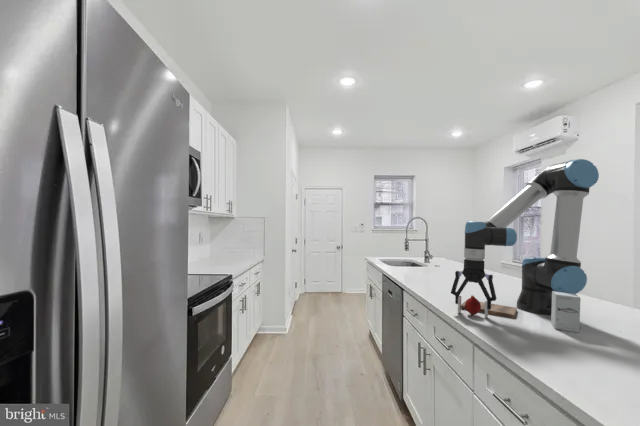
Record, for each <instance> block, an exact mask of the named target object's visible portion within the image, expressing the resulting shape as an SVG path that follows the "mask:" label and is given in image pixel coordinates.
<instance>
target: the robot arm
mask: <svg viewBox="0 0 640 426" xmlns="http://www.w3.org/2000/svg"><path fill="white" fill-rule="evenodd" d="M599 176H600V174H599V170H598V168H597V166H596V165H594V163H593V162H591V161H590V160H588V159H583V158H581V159H580V158H578V159H569V160H568V161H563V162H560V163H555V164H552V165H549V166H547V167H546V168H544V169H542V170H541V171H540V172H538V173H537V174H536V175H535V176H533V178H531V179H530V180H528V182H527V183H526V184H525V186H526V187H524V188H523V189H522V190H521V191H519V193H517V194H516V195H515V196H514V197H513V198H512V199H510V200H509V201H508V202H506V204H505V205H503V206H502V208H500V209H499V210H497V212H495V213H494V214H493V215H492V216H490V218H488V219H487V220H486V221H475V220H474V221H470V220H469V221H467V222H465V227H464V247H463V248H464V249H463V250H464V251H463V253H464V254H463V257H464V259H463V270H456V271H455V272H454V273H455V277H454V281H453V284H452V287H451V290H450V293H451V294H452V295H453V296H454V297H455V298H454V299H455V304H456V305H457V314H460V313H461V312H462V309H461V305H462V296H461V293H462V292H463V290H464V289H465V287H467V286H466V285H467V284H468V283H476V284H478V285H479V288H480V290H481V291H482V293H483V295H484V297H485V299H486V300H485V301H484V302H485V313H484V318H485V319H488V316H489V314H488V310H490V309H491V304H492V302H495V301H496V300H497V294H496V290H495V286H494V281H493V278H494V275H493V274H488V273H486V272H485V261H484V260H485V256H486V255H485V253H486V250H485V249H486V246H497V247H498V246H499V247H512V246H514V245H515V244H516V243H517V239H518V238H517V237H518V235H517V234H518V233H517V232H516V230H515V229H514V228H513V227H512V228H511V227H509V226H510V225H511V224H512V223H513V222H514V221H516V220H517V219H518V218H519V217H521V216H522V215H523V214H524V213H525V212H526V211H528V210H529V209H530V208H531V207H532V206H533V205H534V204H536V203H537V202H538V201H540V199H546V198H547V197H548V196H549V195H551V194H554V195H555V196H556V202H555V203H556V204H555V211H554V219H553V220H554V221H553V229H552V237H551V243H550V244H551V246H550V253H549V254H548V255H546V256H545V257H524V258H523V259H522V264H521V290H520V294H519V296H518V298H517V300H516V308H518V309H520V310H523V311H526V312H531V313H536V314H541V315H542V314H544V315H551V311H552V291H554V292H563V293H571V294H576V295H578V294H579V293H580V292H582V291H583V290H584V288H585V287H586V285H587V284H588V283H587V282H588V281H587V280H588V277H587V273H585V270H583V268H581V267H582V262H581V260H579V258H578V249H579V240H580V232H581V221H582V216H583V215H582V213H583V206H584V205H583V204H584V199H585V197H587V196H588V195H590V189H591V187H593V186H595V184H597V183H598V181H599V178H600V177H599ZM462 275H463V277H464V280H463V282H462V283H461V285H460V286H459V288H458V284H459V280H460V278H461V276H462ZM484 278H485V279H486V280H487V281H488V282H487V283H488V288H489V291H490V294H489V292H488V289H487V288H486V286H485V284H484V281H483V279H484ZM457 288H458V289H457ZM490 295H491V296H490Z"/></svg>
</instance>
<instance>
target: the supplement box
mask: <svg viewBox="0 0 640 426" xmlns="http://www.w3.org/2000/svg"><path fill="white" fill-rule="evenodd" d="M550 318H551V319H550V321H551V322H550V324H551V326H552V327H553V329H555V330H562V331H567V332H572V333H578V334H579V333H580V328H581V326H580V325H581V323H580V321H581V297H580V296H579V295H578V294H571V293H563V292H555V291H552V311H551V314H550Z"/></svg>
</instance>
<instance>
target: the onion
mask: <svg viewBox="0 0 640 426" xmlns="http://www.w3.org/2000/svg"><path fill="white" fill-rule="evenodd" d="M466 300H467V301H466ZM466 300H465V301H466V302H465V301H464V302H465V308H466V311H467V312H468V313H469V314H470V315H471V316H474V315H477V314H479V313H480V312H479V311H480V309H481V305H480V302H481V301H479V300H478V299H477V298H476V297H475V295H473V294H472V295H470V297H469V298H467V299H466Z"/></svg>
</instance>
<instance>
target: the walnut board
mask: <svg viewBox="0 0 640 426" xmlns="http://www.w3.org/2000/svg"><path fill="white" fill-rule="evenodd" d="M467 300H468V299H466V300H465V301H464V302H463V303H461V310H466V308H465V302H466V301H467ZM479 302H480V305H481V309H480V311H479V312H478V313H481V314H485V301H479ZM517 308H518V307H515V306H507V305H502V304H497V303H496V304H495V303H491V309H490V310H488V315H492V316H498V317H503V318H510V319H515V317H516V314H517V311H518V310H517ZM466 311H467V310H466Z"/></svg>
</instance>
